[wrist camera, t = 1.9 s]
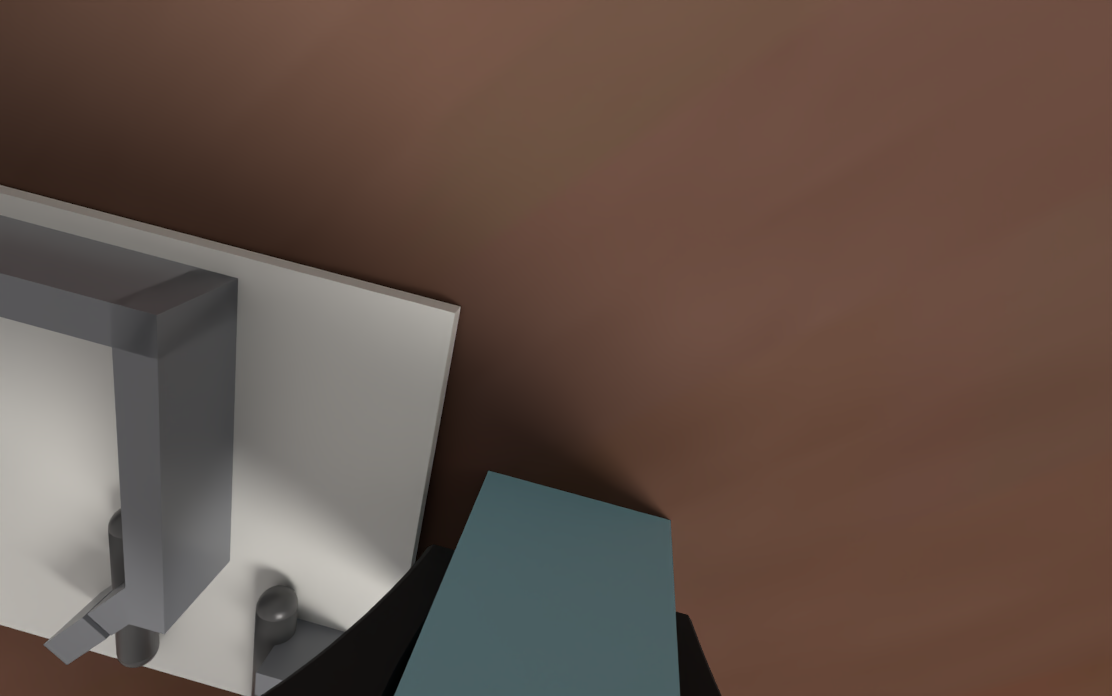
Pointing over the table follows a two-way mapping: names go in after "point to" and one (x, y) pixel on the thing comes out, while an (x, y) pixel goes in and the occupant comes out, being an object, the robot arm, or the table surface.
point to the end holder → (147, 396)
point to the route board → (258, 464)
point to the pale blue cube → (551, 601)
